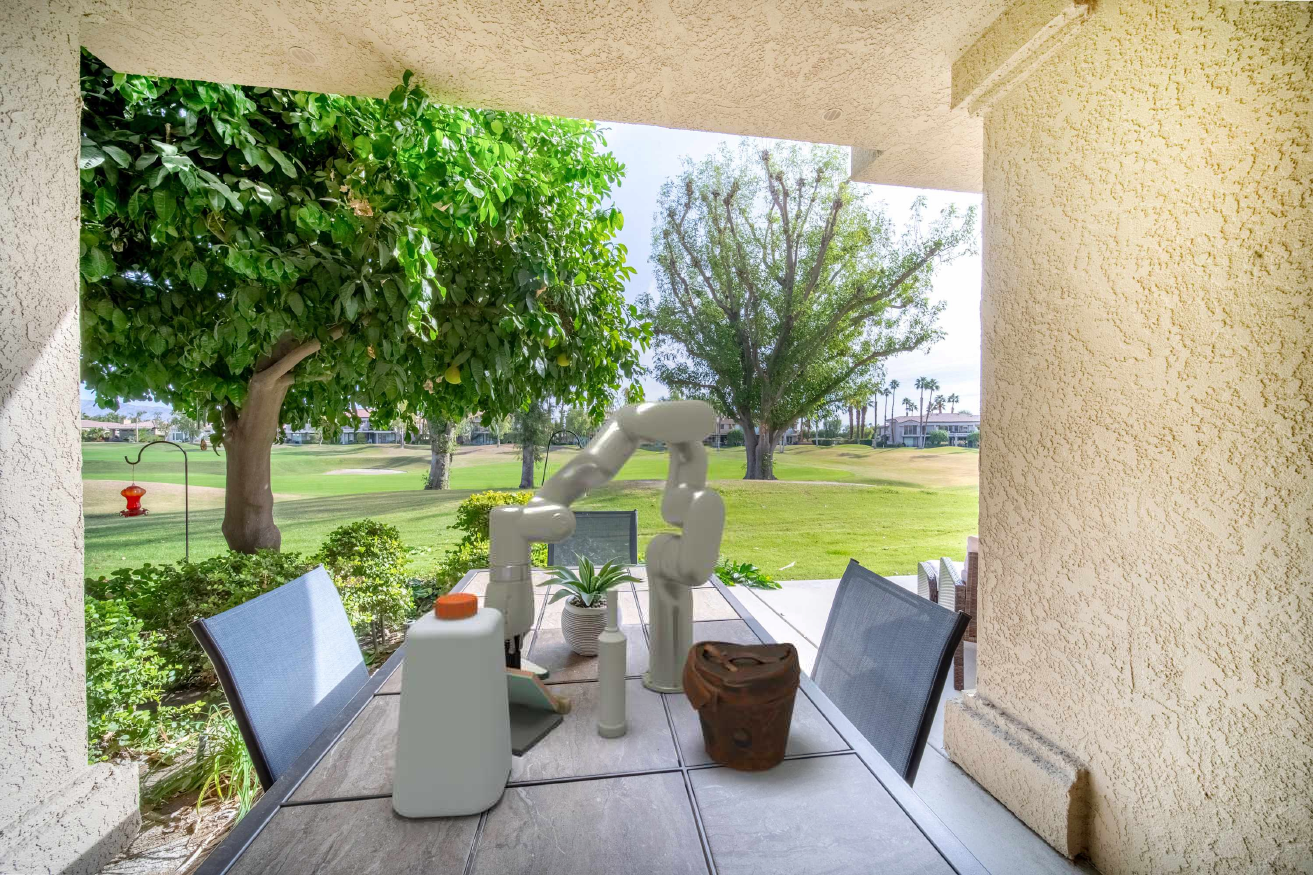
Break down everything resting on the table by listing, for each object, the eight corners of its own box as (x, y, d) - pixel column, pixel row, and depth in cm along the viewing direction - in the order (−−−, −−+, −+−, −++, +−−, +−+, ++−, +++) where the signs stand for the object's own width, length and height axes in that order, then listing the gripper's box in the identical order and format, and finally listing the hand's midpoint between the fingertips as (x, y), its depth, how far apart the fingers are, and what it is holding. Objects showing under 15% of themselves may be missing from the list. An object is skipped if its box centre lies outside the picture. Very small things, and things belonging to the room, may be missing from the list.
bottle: (631, 726, 102) (630, 587, 103) (620, 740, 98) (619, 593, 98) (604, 722, 104) (604, 584, 105) (592, 735, 99) (592, 591, 100)
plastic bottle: (420, 762, 91) (421, 586, 92) (516, 758, 92) (516, 584, 93) (382, 824, 76) (383, 613, 77) (497, 818, 77) (497, 610, 78)
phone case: (481, 669, 131) (515, 690, 119) (481, 662, 131) (515, 682, 119) (517, 660, 137) (552, 678, 125) (517, 653, 137) (552, 671, 125)
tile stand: (571, 709, 109) (571, 698, 109) (561, 717, 106) (561, 705, 106) (502, 696, 115) (502, 685, 115) (491, 703, 112) (491, 691, 112)
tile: (498, 692, 112) (470, 660, 105) (559, 704, 107) (534, 671, 100) (495, 698, 112) (467, 666, 104) (556, 710, 106) (531, 678, 99)
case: (664, 736, 99) (665, 632, 99) (763, 716, 106) (764, 620, 106) (712, 796, 82) (713, 672, 82) (825, 768, 90) (826, 654, 90)
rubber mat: (563, 720, 105) (563, 715, 105) (521, 756, 93) (521, 750, 93) (484, 704, 112) (484, 699, 112) (435, 735, 100) (435, 729, 100)
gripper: (518, 563, 113) (518, 655, 113) (466, 579, 100) (466, 685, 99) (550, 565, 111) (551, 661, 110) (501, 583, 97) (502, 692, 96)
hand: (511, 672), depth 105 cm, fingers closed
